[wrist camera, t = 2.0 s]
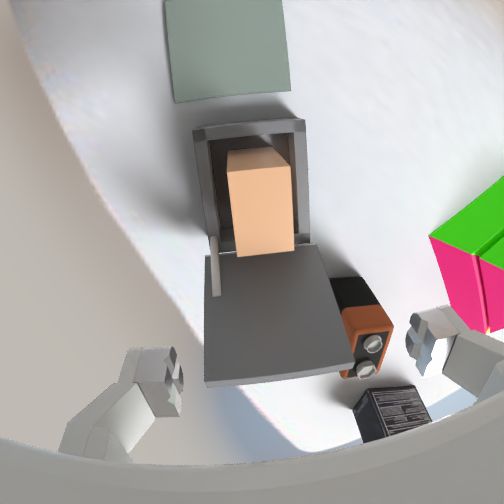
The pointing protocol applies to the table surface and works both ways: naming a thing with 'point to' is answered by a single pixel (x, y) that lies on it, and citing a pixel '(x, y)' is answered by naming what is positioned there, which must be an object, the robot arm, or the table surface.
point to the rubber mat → (226, 48)
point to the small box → (389, 412)
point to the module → (260, 201)
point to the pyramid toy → (475, 260)
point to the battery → (362, 325)
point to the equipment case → (267, 284)
